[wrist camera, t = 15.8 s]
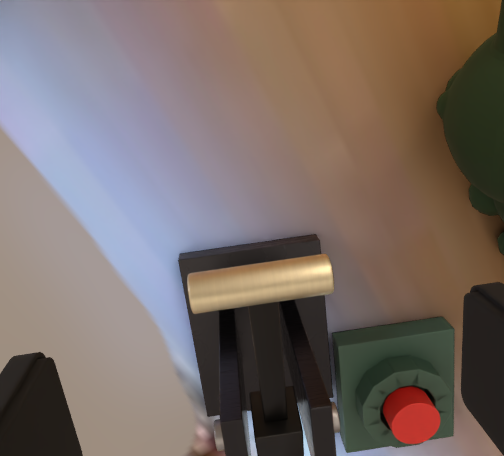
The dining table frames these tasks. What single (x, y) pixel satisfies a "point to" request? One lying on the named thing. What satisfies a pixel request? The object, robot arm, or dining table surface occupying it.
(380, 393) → the console
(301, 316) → the lever bracket
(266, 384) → the press lever
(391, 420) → the button
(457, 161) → the green bumpy upright shape
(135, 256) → the dining table surface
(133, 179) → the dining table surface
